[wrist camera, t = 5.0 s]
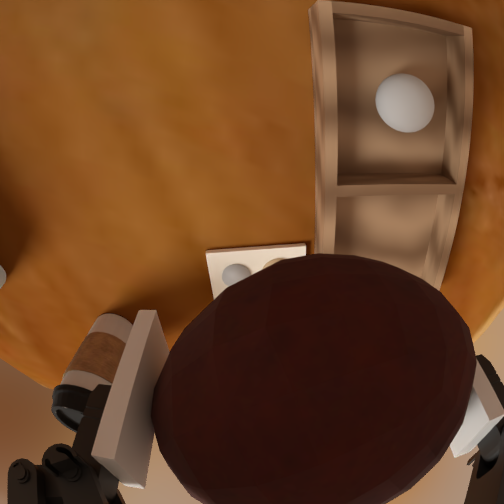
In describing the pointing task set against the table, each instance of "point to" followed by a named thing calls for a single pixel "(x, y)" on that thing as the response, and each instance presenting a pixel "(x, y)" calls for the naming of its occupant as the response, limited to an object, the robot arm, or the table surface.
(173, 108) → the table surface
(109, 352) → the coffee cup
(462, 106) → the divided wooden tray
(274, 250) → the tile
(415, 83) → the ball
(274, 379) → the dark brown ovoid
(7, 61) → the table surface
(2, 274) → the white rounded block
